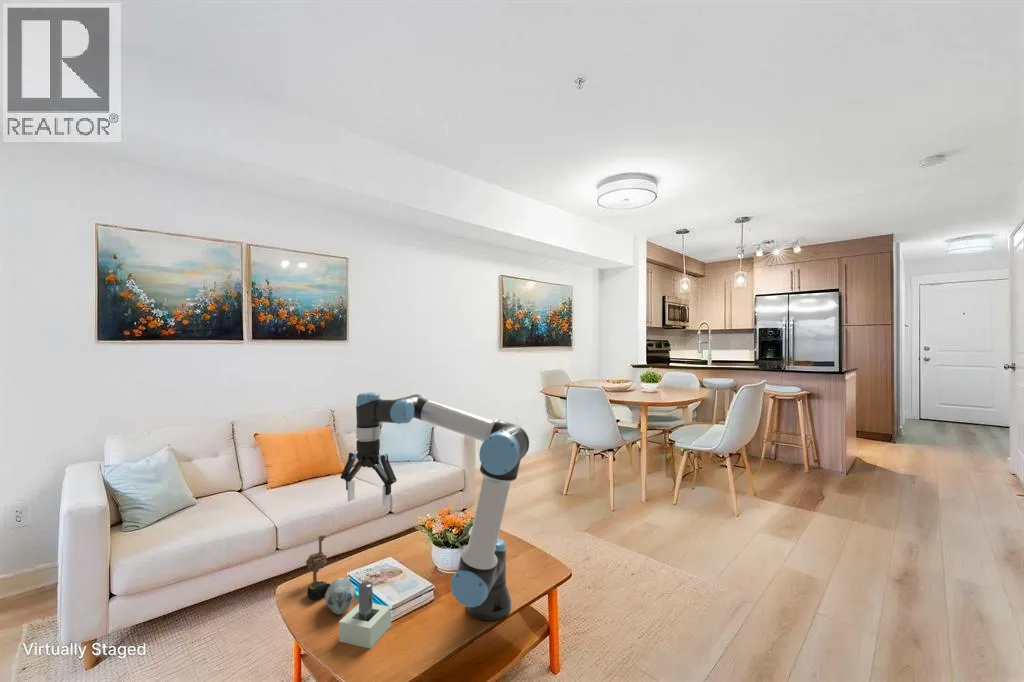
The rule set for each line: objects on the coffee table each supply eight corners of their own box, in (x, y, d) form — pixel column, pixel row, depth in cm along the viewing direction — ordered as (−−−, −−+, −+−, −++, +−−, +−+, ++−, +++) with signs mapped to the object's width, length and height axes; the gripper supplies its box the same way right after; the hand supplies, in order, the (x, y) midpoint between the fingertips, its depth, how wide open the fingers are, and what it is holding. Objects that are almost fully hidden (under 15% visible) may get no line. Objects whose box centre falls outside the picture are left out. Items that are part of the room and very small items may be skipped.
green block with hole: (391, 625, 141) (391, 606, 141) (370, 648, 130) (370, 628, 130) (361, 619, 144) (361, 601, 144) (339, 641, 134) (339, 621, 134)
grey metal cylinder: (375, 630, 139) (375, 582, 139) (367, 638, 135) (367, 589, 135) (364, 628, 140) (364, 580, 140) (356, 636, 136) (356, 587, 136)
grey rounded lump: (355, 612, 144) (355, 578, 148) (323, 618, 141) (324, 583, 144) (354, 605, 156) (354, 574, 160) (325, 611, 153) (326, 579, 156)
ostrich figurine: (325, 578, 169) (325, 531, 169) (327, 586, 164) (327, 538, 164) (275, 591, 161) (275, 541, 161) (276, 600, 155) (276, 549, 155)
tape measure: (314, 602, 152) (313, 591, 153) (303, 597, 156) (303, 586, 157) (332, 593, 158) (331, 583, 158) (321, 589, 162) (321, 578, 162)
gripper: (406, 438, 149) (406, 501, 149) (344, 434, 156) (344, 494, 156) (394, 443, 142) (394, 510, 141) (329, 439, 149) (329, 502, 149)
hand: (368, 502), depth 149 cm, fingers open, 13 cm apart
